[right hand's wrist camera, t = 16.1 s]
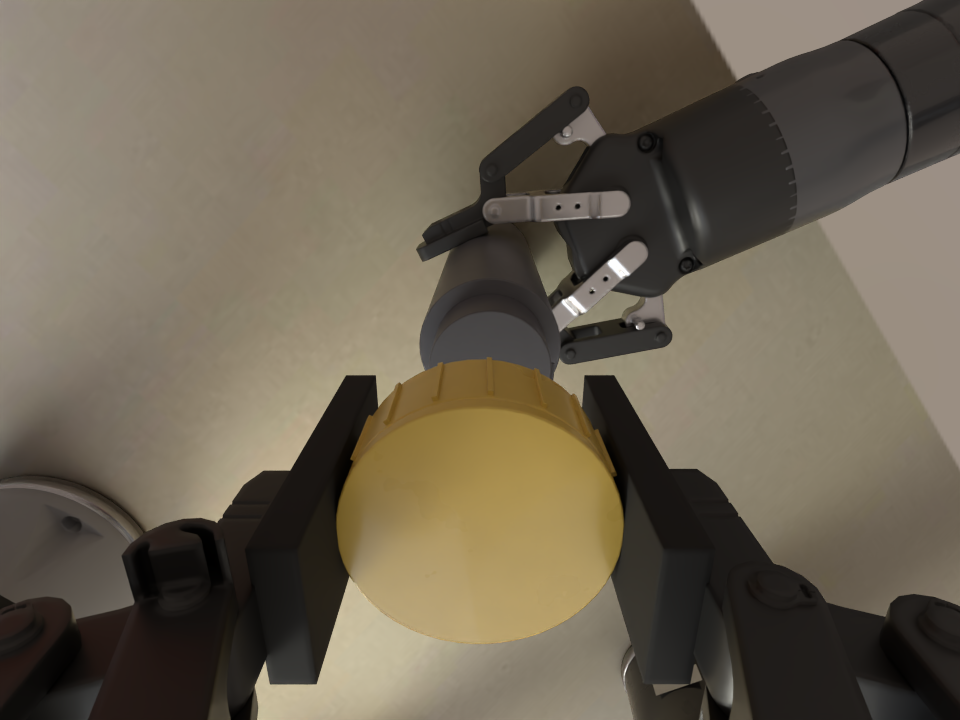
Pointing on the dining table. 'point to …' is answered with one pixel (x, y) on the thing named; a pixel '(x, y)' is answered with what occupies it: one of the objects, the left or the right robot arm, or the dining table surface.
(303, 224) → the dining table surface
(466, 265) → the jar
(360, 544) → the lid
